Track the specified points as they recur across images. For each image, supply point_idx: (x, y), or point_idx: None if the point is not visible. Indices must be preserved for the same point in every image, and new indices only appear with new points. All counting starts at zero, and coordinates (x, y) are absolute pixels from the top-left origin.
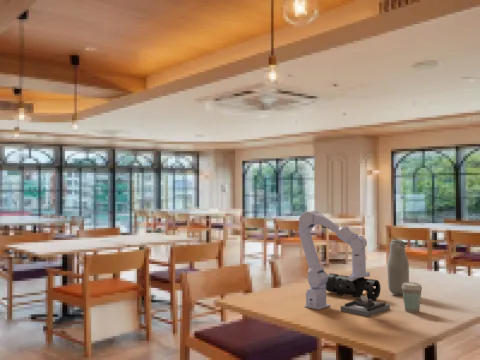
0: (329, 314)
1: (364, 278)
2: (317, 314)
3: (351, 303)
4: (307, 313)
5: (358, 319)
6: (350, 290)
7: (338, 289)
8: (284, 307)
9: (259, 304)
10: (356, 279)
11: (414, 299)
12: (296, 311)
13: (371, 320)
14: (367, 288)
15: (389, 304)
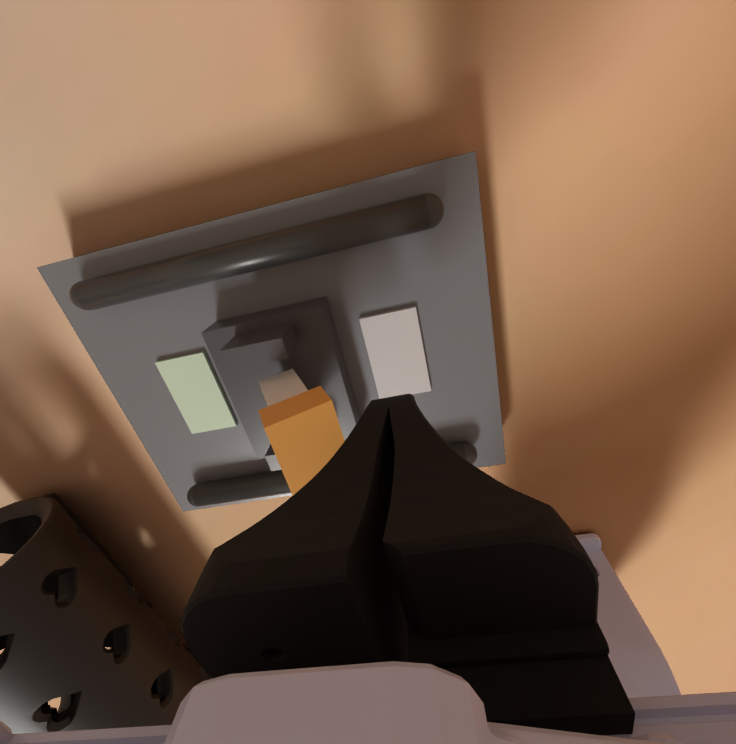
0: (648, 421)
1: (226, 668)
2: (711, 466)
3: None
4: (731, 515)
5: (623, 153)
6: (162, 650)
7: None
8: (686, 649)
9: None
10: (609, 694)
11: None
12: (729, 574)
13: (557, 22)
14: (45, 595)
15: (40, 268)
